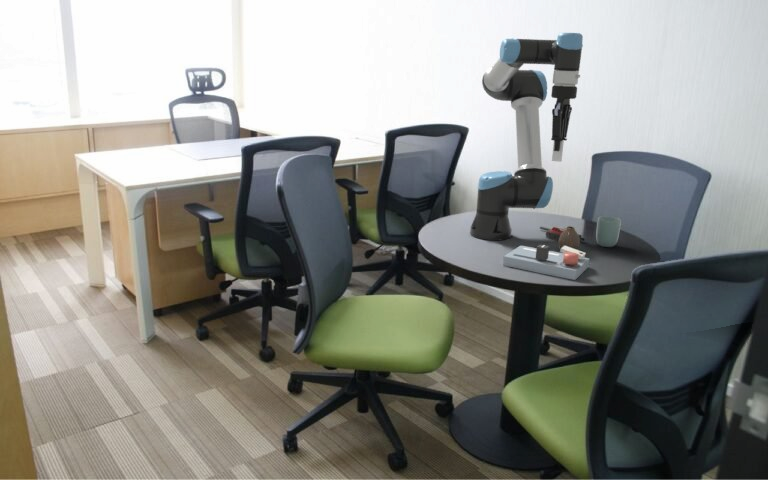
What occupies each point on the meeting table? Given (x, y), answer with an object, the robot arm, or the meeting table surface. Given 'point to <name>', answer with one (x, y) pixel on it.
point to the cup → (607, 231)
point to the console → (544, 263)
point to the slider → (542, 252)
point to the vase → (569, 238)
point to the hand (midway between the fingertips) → (556, 160)
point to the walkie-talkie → (556, 233)
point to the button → (570, 258)
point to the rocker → (569, 249)
